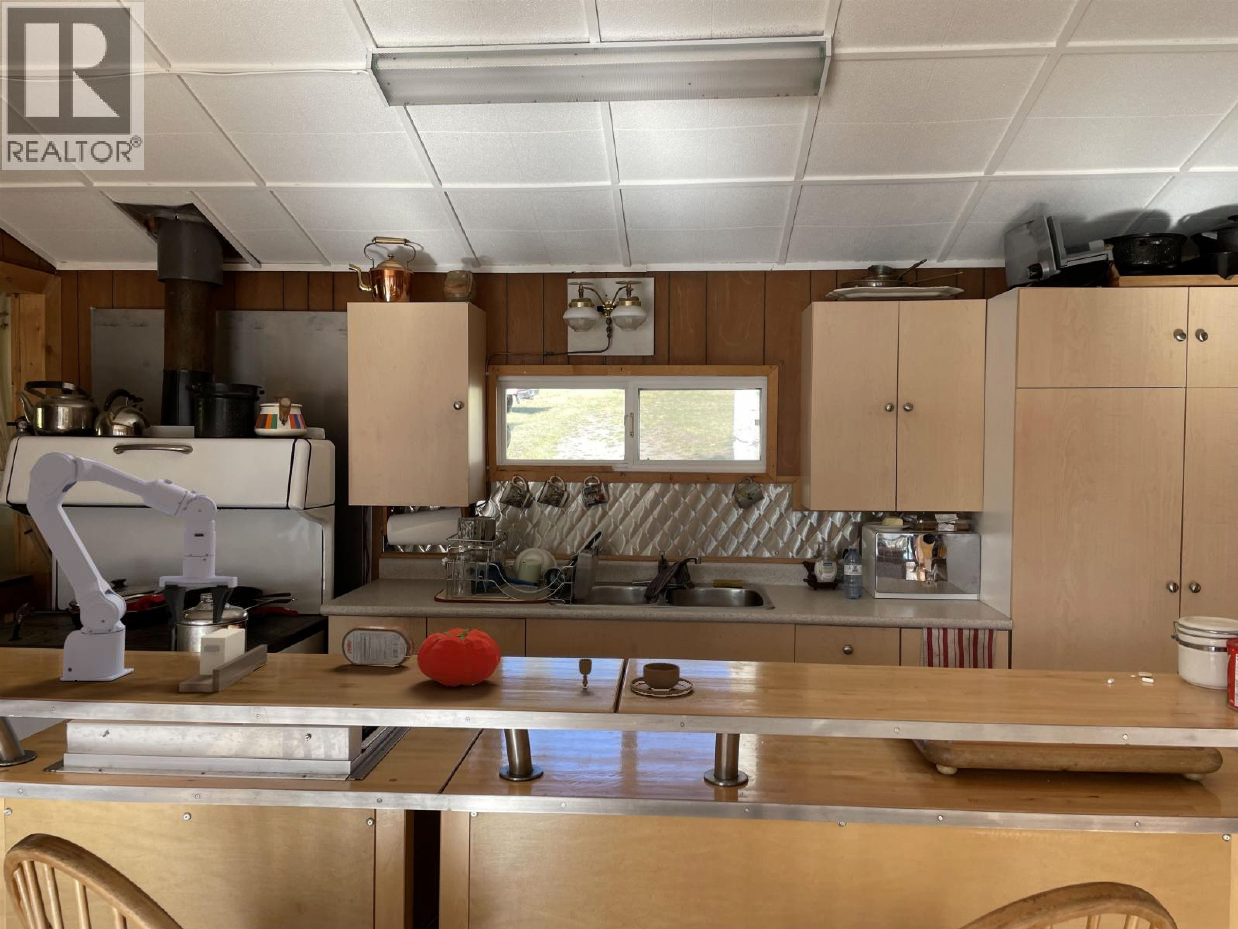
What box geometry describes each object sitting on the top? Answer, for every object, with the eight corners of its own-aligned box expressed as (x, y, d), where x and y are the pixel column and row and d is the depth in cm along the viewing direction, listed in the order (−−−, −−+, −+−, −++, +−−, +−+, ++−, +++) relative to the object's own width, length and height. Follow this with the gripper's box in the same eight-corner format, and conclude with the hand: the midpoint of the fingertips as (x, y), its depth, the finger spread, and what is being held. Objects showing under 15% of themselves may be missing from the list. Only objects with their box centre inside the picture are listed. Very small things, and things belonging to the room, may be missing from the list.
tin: (414, 665, 167) (415, 625, 167) (409, 669, 164) (409, 628, 164) (345, 663, 169) (346, 623, 169) (339, 666, 165) (340, 625, 166)
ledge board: (179, 691, 144) (179, 669, 144) (232, 663, 166) (232, 644, 166) (218, 692, 144) (219, 669, 144) (266, 664, 166) (267, 644, 166)
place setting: (669, 708, 140) (670, 675, 140) (573, 692, 150) (573, 661, 150) (707, 686, 156) (707, 656, 156) (617, 673, 165) (618, 644, 165)
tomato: (441, 671, 163) (442, 622, 163) (513, 678, 157) (514, 628, 157) (400, 688, 149) (401, 634, 149) (477, 697, 144) (478, 642, 144)
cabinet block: (197, 675, 149) (198, 638, 150) (221, 663, 159) (222, 628, 159) (222, 675, 150) (223, 638, 150) (244, 663, 159) (244, 628, 160)
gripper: (151, 556, 157) (150, 626, 156) (227, 557, 157) (225, 626, 157) (170, 553, 164) (168, 619, 163) (242, 554, 164) (240, 620, 164)
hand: (197, 622), depth 161 cm, fingers open, 7 cm apart
